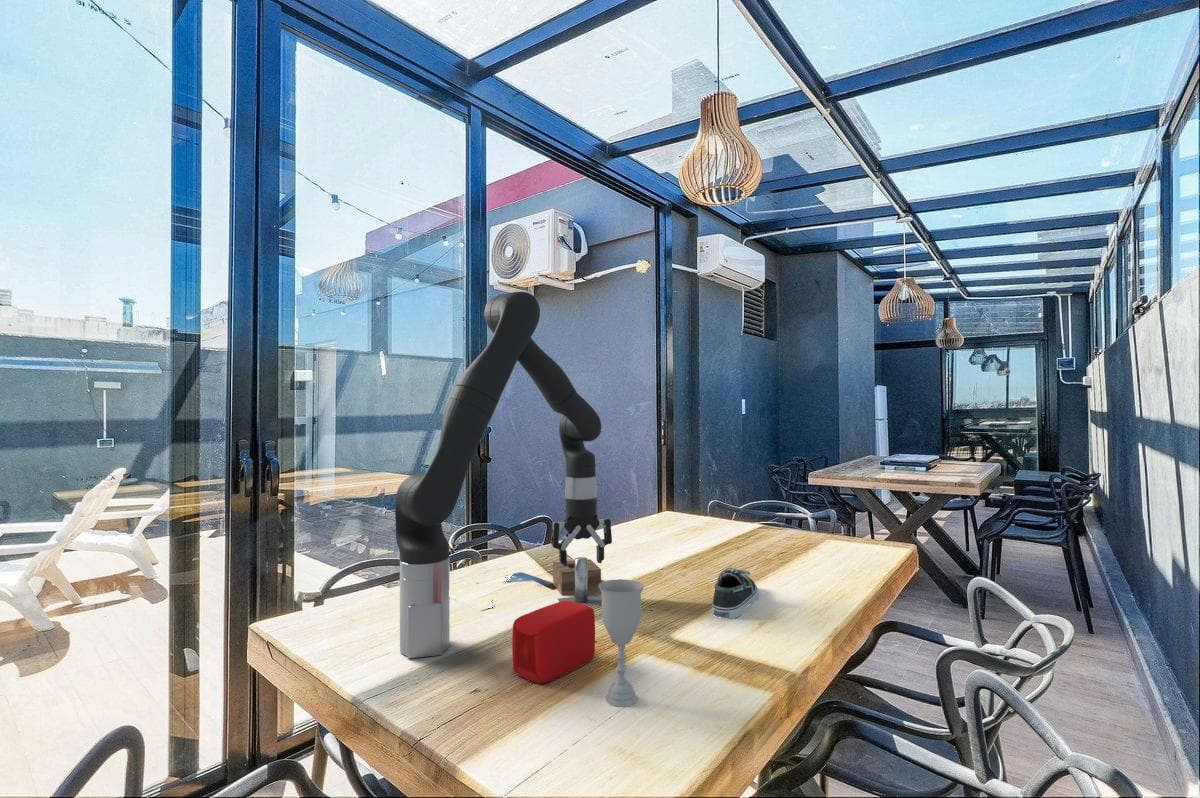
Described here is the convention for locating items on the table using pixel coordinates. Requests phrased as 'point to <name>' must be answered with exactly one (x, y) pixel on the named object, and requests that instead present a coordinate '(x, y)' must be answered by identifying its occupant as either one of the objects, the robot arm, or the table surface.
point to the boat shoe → (733, 593)
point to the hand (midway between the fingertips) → (582, 563)
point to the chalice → (621, 630)
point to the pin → (581, 580)
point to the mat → (591, 601)
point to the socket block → (566, 577)
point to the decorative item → (553, 641)
